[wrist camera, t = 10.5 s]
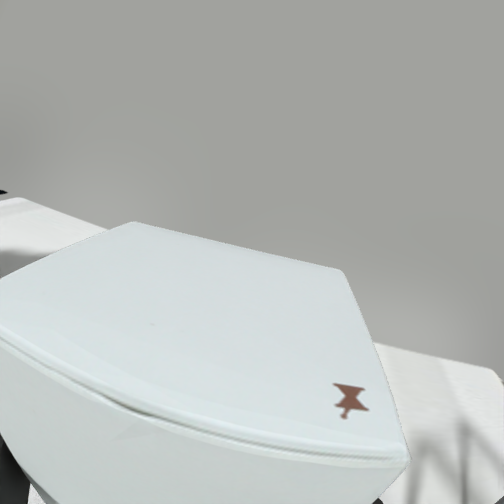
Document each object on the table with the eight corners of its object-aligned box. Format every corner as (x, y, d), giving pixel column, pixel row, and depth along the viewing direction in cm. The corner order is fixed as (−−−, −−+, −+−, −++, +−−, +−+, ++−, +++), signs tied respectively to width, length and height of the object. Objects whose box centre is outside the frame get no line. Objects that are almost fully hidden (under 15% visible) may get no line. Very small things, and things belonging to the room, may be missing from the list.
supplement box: (261, 483, 13) (352, 267, 9) (238, 599, 6) (434, 466, 2) (131, 444, 14) (134, 214, 10) (72, 542, 7) (-59, 291, 3)
